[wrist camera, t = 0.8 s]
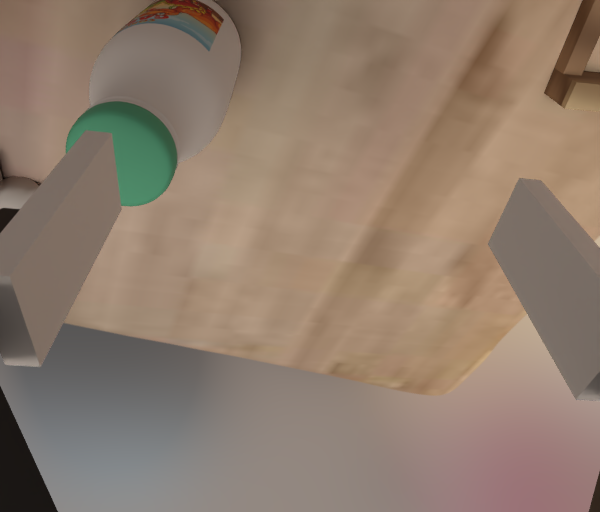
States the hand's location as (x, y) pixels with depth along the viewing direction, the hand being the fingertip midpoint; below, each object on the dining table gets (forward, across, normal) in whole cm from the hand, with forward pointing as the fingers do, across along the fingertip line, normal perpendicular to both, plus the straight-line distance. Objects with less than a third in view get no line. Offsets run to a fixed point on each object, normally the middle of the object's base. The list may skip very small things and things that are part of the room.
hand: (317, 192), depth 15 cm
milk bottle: (+25, -8, -3) cm, 27 cm away
